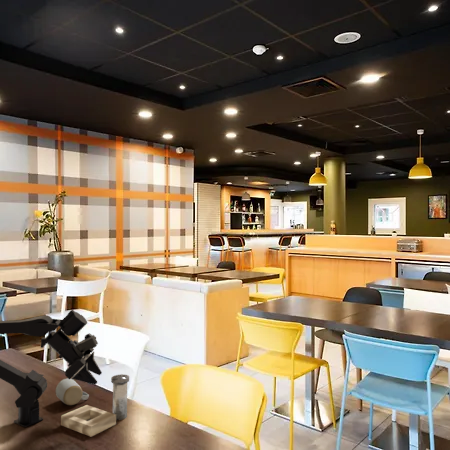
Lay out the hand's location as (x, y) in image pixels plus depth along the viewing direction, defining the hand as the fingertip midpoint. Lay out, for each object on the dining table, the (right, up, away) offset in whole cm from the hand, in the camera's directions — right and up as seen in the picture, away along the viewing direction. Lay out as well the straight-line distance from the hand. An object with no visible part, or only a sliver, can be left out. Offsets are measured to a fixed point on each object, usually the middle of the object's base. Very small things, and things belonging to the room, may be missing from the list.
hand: (98, 378), depth 139 cm
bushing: (+7, -13, +1) cm, 15 cm away
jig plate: (-2, -13, -5) cm, 14 cm away
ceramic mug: (-13, -13, +13) cm, 23 cm away
